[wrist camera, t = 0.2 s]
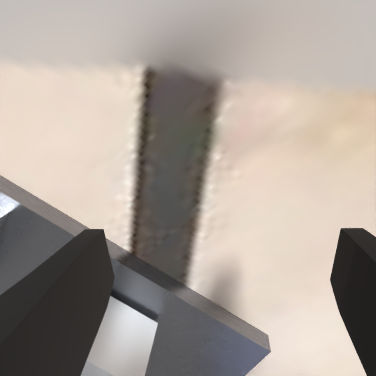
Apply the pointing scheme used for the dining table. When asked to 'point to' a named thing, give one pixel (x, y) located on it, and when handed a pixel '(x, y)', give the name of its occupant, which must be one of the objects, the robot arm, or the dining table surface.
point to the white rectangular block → (121, 343)
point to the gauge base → (133, 293)
